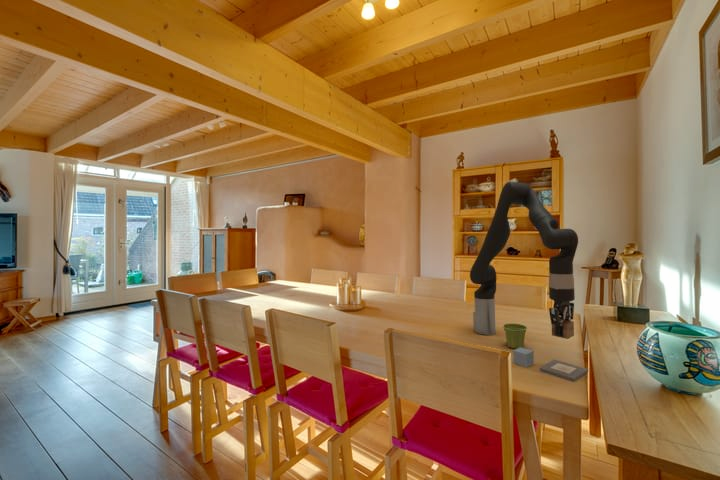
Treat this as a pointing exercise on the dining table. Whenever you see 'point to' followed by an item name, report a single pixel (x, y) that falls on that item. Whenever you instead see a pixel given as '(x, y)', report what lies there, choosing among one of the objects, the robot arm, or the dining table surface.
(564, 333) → the walnut block
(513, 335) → the plant pot
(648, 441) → the dining table surface
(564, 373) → the plate
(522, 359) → the blue block
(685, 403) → the dining table surface
